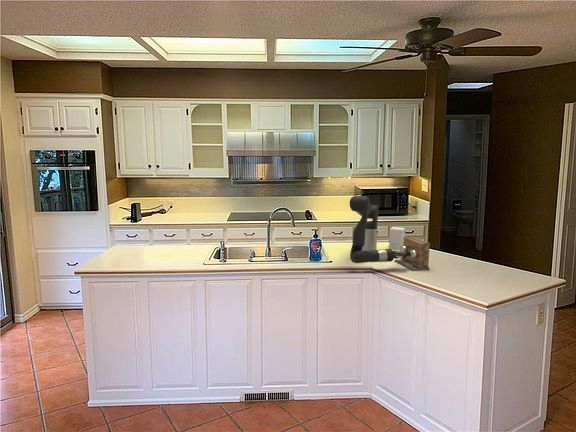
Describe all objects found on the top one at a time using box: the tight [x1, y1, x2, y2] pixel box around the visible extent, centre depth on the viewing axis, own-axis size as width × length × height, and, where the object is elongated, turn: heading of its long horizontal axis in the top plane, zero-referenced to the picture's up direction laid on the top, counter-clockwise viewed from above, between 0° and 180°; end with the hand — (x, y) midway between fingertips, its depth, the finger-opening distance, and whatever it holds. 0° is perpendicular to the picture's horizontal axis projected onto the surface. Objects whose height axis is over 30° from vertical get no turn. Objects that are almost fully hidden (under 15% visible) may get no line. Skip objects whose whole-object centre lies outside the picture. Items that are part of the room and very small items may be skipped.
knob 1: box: [399, 246, 408, 252], centre depth 272 cm, size 8×4×4 cm, turn 104°
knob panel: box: [394, 236, 431, 272], centre depth 266 cm, size 11×22×16 cm, turn 14°
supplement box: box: [388, 226, 406, 251], centre depth 312 cm, size 9×9×15 cm
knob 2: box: [410, 250, 418, 258], centre depth 261 cm, size 8×4×4 cm, turn 104°
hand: (410, 253), depth 259 cm, fingers closed
